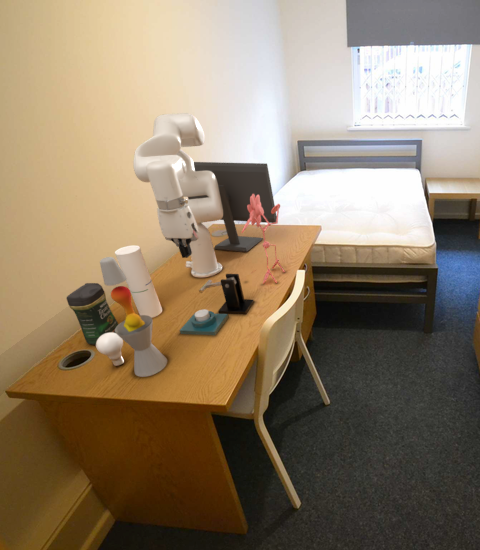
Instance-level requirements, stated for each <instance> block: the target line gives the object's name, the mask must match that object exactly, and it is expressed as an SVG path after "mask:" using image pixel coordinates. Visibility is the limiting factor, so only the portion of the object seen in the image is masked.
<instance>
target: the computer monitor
mask: <svg viewBox="0 0 480 550" xmlns="http://www.w3.org/2000/svg"><path fill="white" fill-rule="evenodd" d="M193 162H194V168H195V171H211V172H212V173H214V175H215V177H216V179H217V183H218V187H219V192H220V197H221V202H222V208H223V217H222V219H220V220H219V221H223V223H224V227H225V231H226V234H227V238H225V239H224V240H222V241H220V242H219V243H216V244H214V245H215V246H213V248H214V250H216V251H227V252H240V253H247V252H249V251H251V249H253V248H254V247H255V246H256V245H257V244H259V243H260V242H261V241H262V240H264V237H259V236H258V237H256V236H242V235H238V231H237V227H236V222H247V221H248V220H249V218H250V213H249V211H248V209H247V205H251V204H250V197H251V196H252V194H254V195H255V198H256V196H257V195H259V196H260V203H261V207H262V208H263V210H264V214H263V215H264V216H265V218H266V219H267V221H268V222H269V223H276V220H277V211H276V212H275V213H274V214H272V213H271V210H272V209H273V208H274V207H275V206H276V205H275V200H274V194H273V189H272V184H271V177H270V171H269V166H268V163H265V162H264V163H262V162H261V163H260V162H259V163H255V162H216V161H215V162H213V161H211V162H209V161H193ZM199 198H208V196H207V195H202V196H192V197H187V200H189V199H199ZM250 223H251V221H250ZM261 223H267V222H266V220H265V219H264V217H263V216H262V215H261ZM267 224H268V223H267ZM277 224H279V221H278V222H277Z"/></svg>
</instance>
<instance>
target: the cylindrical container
mask: <svg viewBox="0 0 480 550" xmlns="http://www.w3.org/2000/svg"><path fill="white" fill-rule="evenodd" d="M114 255H115V258H116V260H117V263H118V265H119V267H120V268H121V270H122V271H123V273H124V275H125V276H126V278H127V279H126V280H125V283H126V285H127V288H128V289H129V290H130V292H131V298H132V300H133V302H134V305H135V307H136V309H137V312H138V315H146V316H150V317H151V318H152V319H153V318H156V317H158V316H159V315H160V314H162V312H163V307H162V305H161V302H160V299H159V296H158V293H157V290H156V288H155V285H154V283H153V280H152V277H151V274H150V272H149V269H148V266H147V264H146V261H145V258H144V255H143V252H142V249H141V247H140V246H139V245H137V244H135V245H126V246H122V247H119V248H118V249H116V250H115V251H114Z"/></svg>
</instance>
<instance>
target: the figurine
mask: <svg viewBox="0 0 480 550" xmlns="http://www.w3.org/2000/svg"><path fill="white" fill-rule="evenodd" d="M250 204H251V205H247V209H248V211H249V213H250V218H249V220H248V221H246V223H245V224H244V226H243V228H242V230H241V234H243V233H244V232H245V231H246V229H247V228H248V227H249V225H250V224H251V226H254V225H255V224H256V227H257V228H260V229H261V231H262V236H263V237H262V238H263V243H262V247H263V248H264V251H265V252H264V253H265V255H266V266H267V270H266V272H265V275H264V277H263V280H262V284H263V285H264V284H265V283H266V282H267V280H268V279H269V276H270V277H271V278H272V280H273V281H274V282H275V284H277V283H278V282H277V280H276V278H275V277H274V276H273V274H272V273H271V269H272V270H274V269H275V267H276V266H277V265H278V267H280V269H281V271H282V272H283V273H285V272H286V271H285V269H284V268H283V267H282V265H281V264H280V262H279V261H280V259H279V258H278V259H277V256H275V262H273V265H272V266H271V269H270V268H269V256H268V252H267V249H269V248H270V246H273V247H274V252H275V253H274V254H275V255H277V245H276V244H270V242H269V241H266V235H265V232H266V230H267V229H268V227H269V226H271V225H277V224H278V223H279V213H280V209H281V204H280V203H277V204H276V205H275V207H274V208H273V209H272V210H271V213H272V214H274V213H275V212H276V216H277V220H276V223H269V222H268V221H267V219H266V218H265V216H264V215H263V214H264V210H263V208H262V207H261V203H260V196H259V195H257V196H256V198H255V195H254V194H252V196H251V197H250ZM261 215H262V216H263V217H264V219H265V220H266V222H267V224H266V225H265V226H264V227H263V226H262V224H261V223H262V222H261ZM250 221H251V222H250ZM277 222H278V223H277ZM256 271H257V269H256V270H253V271H252V273H254V272H256Z"/></svg>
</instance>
